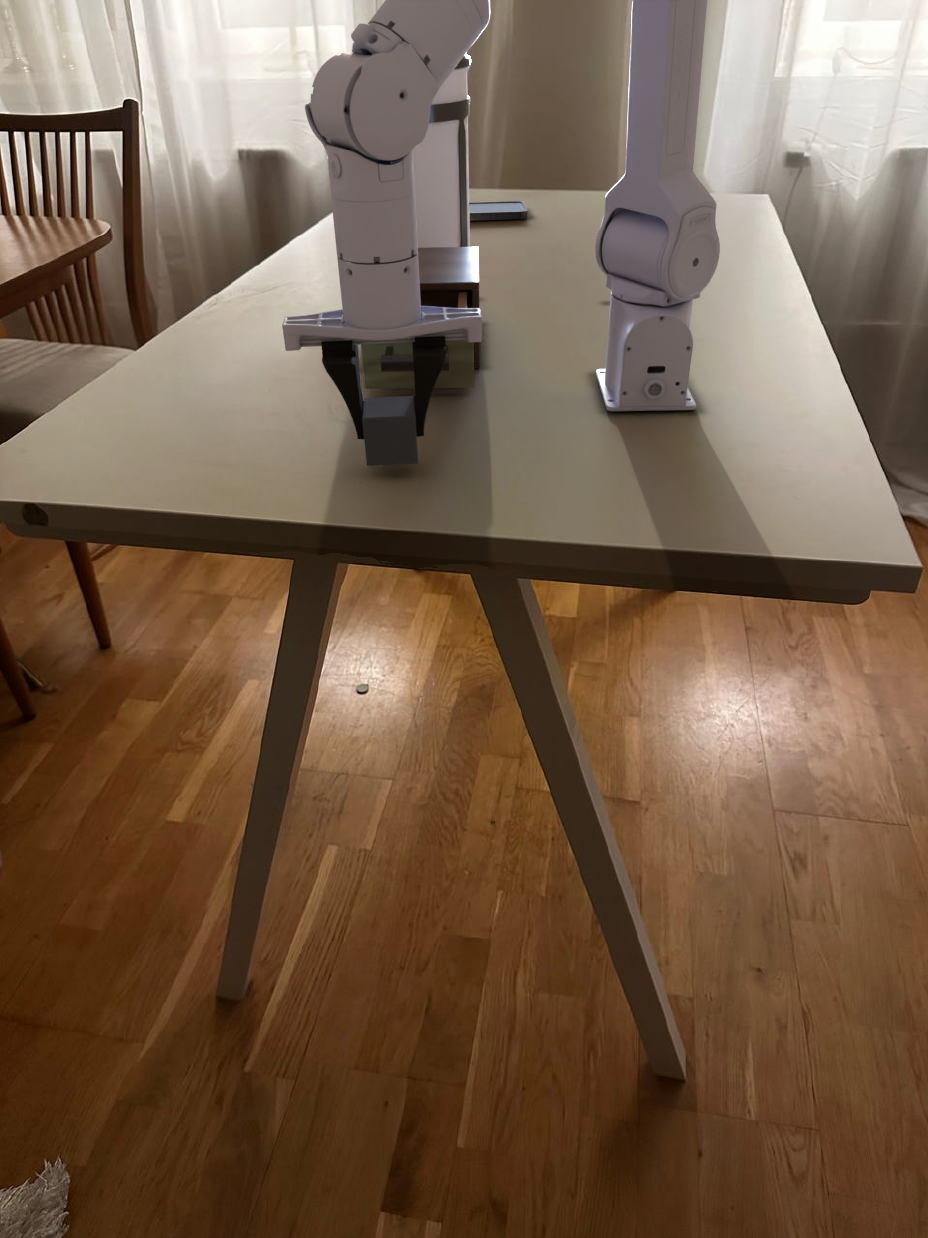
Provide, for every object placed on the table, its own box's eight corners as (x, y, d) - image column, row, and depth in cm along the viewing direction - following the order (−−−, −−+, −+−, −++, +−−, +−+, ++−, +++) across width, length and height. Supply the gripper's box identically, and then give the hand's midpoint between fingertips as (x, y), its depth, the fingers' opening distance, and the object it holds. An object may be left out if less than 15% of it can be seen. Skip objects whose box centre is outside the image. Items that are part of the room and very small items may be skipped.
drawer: (474, 405, 81) (472, 331, 77) (360, 407, 81) (353, 333, 77) (473, 342, 94) (472, 276, 91) (376, 344, 95) (371, 278, 91)
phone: (528, 211, 142) (432, 213, 142) (528, 218, 143) (433, 221, 142) (523, 200, 148) (432, 203, 148) (523, 207, 149) (432, 210, 149)
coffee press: (510, 285, 114) (512, -5, 96) (435, 319, 103) (423, 1, 86) (400, 266, 122) (384, -4, 104) (321, 297, 111) (288, 2, 94)
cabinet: (480, 368, 91) (479, 281, 86) (366, 369, 91) (359, 284, 86) (479, 324, 102) (478, 246, 97) (378, 326, 102) (372, 248, 97)
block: (418, 464, 70) (415, 415, 68) (366, 466, 70) (362, 418, 68) (416, 442, 74) (414, 395, 71) (367, 444, 74) (363, 397, 71)
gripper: (475, 235, 67) (478, 408, 75) (280, 243, 67) (303, 416, 75) (483, 260, 62) (485, 444, 70) (269, 269, 61) (296, 454, 69)
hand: (391, 432), depth 72 cm, fingers closed on block, 4 cm apart
